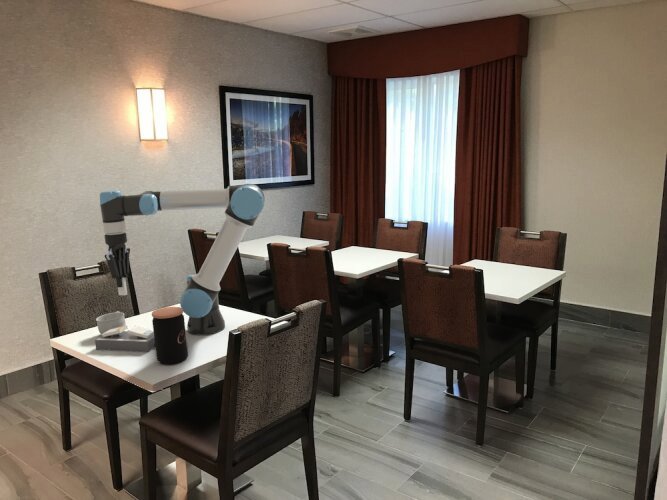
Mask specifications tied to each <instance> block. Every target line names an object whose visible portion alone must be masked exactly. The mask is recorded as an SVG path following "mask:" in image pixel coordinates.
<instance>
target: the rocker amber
mask: <svg viewBox="0 0 667 500" xmlns="http://www.w3.org/2000/svg"><path fill="white" fill-rule="evenodd" d="M127 330H129V327H128V325H126V326H122V327H119V328H115V329H110V330H108V331H107V332H105V333H103V334H101V336H103V337H105V336H110V335H114V334H118V333H121V332H123V331H127Z"/></svg>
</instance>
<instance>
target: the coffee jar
mask: <svg viewBox="0 0 667 500" xmlns="http://www.w3.org/2000/svg"><path fill="white" fill-rule="evenodd" d="M183 313H184V312H183V309H182V308H181V306H166V307H162V308H157V309H156V310H153V311H151V317H152V320H151V321H152V329H153V330H152V331H154V340H155V348H154V349H155V354H156V361H157V362H158V363H159V364H160V365H162V366H164V365H165V366H172V365H177V364H181V363H183V362H184V361H186V360H187V358H188V356H189V351H188V342H187V341H188V340H187V333H186V323H185V315H184V314H183Z"/></svg>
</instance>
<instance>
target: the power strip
mask: <svg viewBox="0 0 667 500" xmlns="http://www.w3.org/2000/svg"><path fill="white" fill-rule="evenodd" d="M94 343H95V344H94V345H95V350H96V351H112V352H113V351H114V352H115V351H117V352H118V351H119V352H137V353H138V352H139V353H141V352H142V353H149V352H151V351H152V350H154V349H156V348H155V340H154V334H153V335H151V336H150V337H148V338H143V337H140V336H136V335H133V334H129V333H128V330H124V331H123V332H121V333H118V334H114V335H110V336H105V337H103V336H102V335H101V336H99V337H97V338H96V339H94Z"/></svg>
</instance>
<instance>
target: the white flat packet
mask: <svg viewBox="0 0 667 500" xmlns="http://www.w3.org/2000/svg"><path fill="white" fill-rule="evenodd" d="M127 331H128V333H129V334H133V335H136V336H140V337H143V338H148V337H150V336H151V335H153V334H154V331H153V330H152V329H150V328H149V329H148V328H144V327H141V326H138V325H133V326H132V327H130V328H128V329H127Z"/></svg>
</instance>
